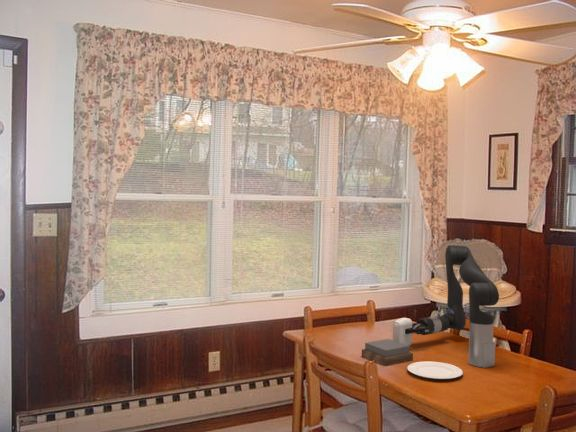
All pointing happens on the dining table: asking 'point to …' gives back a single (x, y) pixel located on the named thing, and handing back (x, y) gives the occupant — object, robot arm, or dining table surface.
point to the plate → (435, 370)
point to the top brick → (387, 348)
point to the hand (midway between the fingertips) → (401, 330)
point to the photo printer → (402, 331)
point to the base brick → (387, 360)
